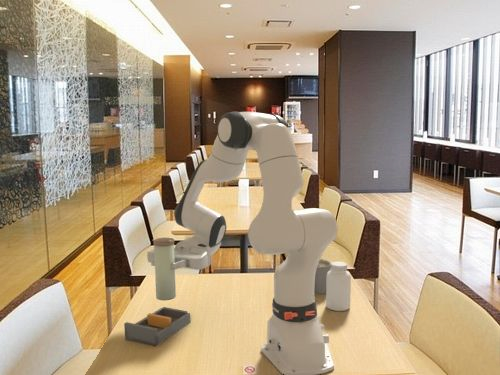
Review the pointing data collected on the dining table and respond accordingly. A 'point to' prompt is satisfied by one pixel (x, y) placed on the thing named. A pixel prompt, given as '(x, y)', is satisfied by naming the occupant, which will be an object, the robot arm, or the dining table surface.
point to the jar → (164, 268)
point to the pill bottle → (338, 287)
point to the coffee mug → (321, 276)
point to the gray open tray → (153, 333)
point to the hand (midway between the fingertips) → (162, 265)
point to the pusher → (158, 320)
